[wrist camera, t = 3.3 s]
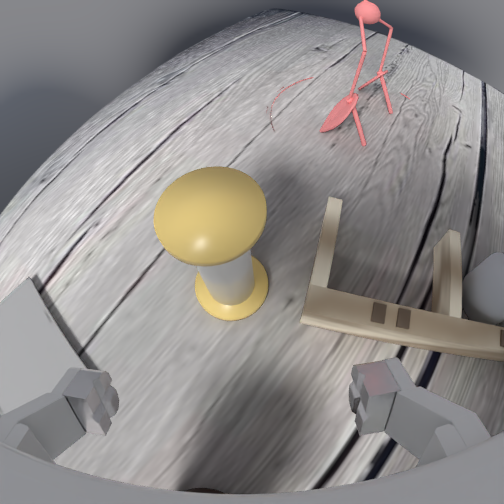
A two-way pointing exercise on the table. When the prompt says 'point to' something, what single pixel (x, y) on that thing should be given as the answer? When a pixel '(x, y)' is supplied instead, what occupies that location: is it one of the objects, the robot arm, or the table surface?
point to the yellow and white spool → (217, 237)
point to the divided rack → (398, 316)
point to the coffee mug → (204, 491)
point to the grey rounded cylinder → (485, 291)
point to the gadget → (30, 348)
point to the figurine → (340, 112)
